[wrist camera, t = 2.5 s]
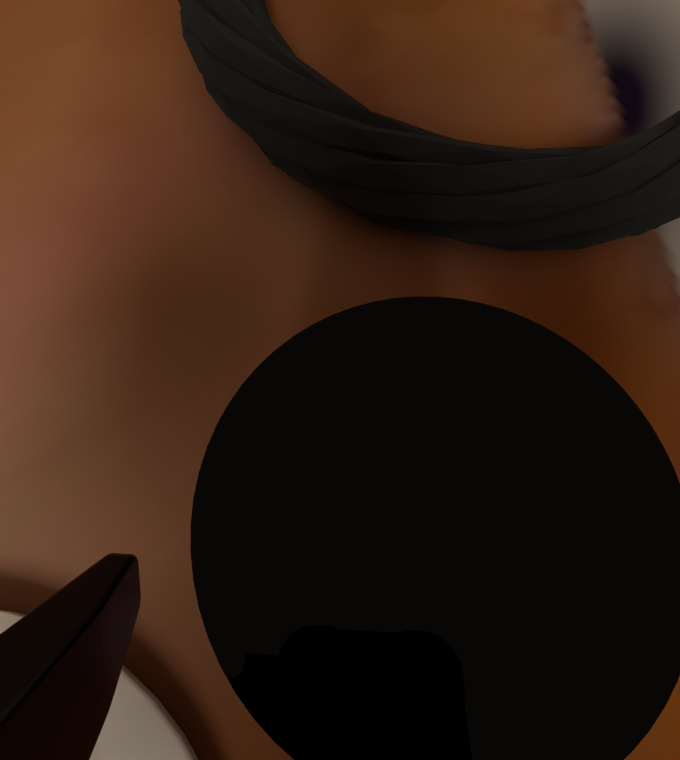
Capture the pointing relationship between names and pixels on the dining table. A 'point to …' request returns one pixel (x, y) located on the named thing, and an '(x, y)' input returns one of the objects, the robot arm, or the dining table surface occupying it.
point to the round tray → (132, 721)
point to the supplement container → (439, 543)
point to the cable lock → (425, 151)
